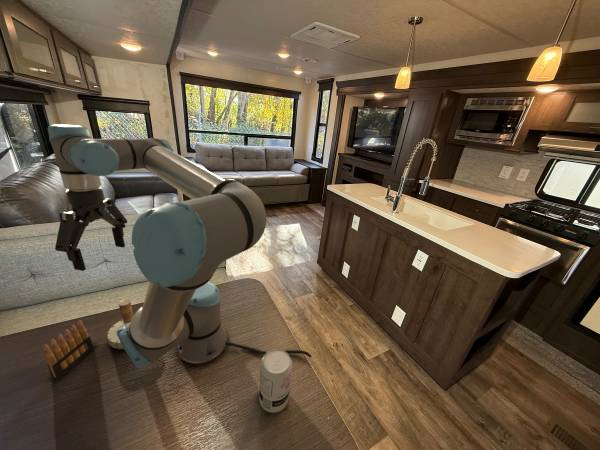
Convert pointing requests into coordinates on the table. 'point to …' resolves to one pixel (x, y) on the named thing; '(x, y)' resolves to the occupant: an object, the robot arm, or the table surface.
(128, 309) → the post stand
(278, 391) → the supplement can
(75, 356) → the ammunition clip
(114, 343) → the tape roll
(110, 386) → the table surface
